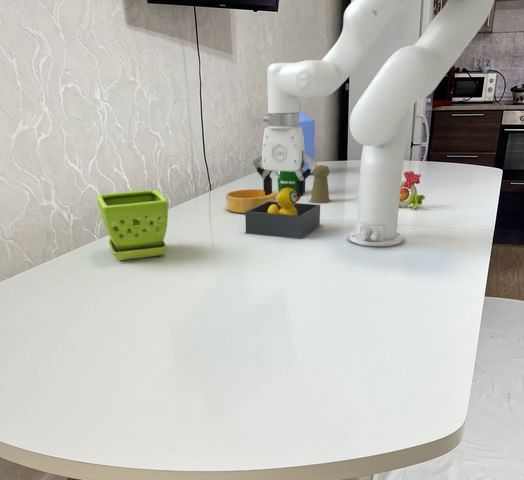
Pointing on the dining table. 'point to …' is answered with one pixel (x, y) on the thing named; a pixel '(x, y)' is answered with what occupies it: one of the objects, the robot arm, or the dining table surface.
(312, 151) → the water jug
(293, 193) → the duckling
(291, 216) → the bin
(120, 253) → the flower pot
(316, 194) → the cork
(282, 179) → the milk carton
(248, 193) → the bowl
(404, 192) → the bird rattle
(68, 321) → the dining table surface
